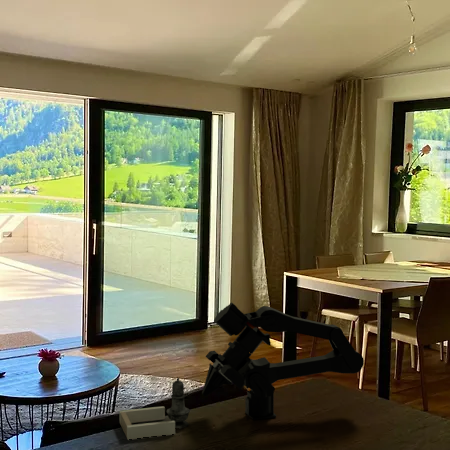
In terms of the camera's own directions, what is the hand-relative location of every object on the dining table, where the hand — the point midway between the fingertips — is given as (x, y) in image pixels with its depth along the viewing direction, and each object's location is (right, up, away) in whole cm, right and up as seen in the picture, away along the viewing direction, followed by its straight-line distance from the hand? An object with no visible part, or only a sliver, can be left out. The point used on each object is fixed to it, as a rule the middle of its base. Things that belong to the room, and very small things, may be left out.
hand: (203, 394), depth 168 cm
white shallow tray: (-14, -7, -5) cm, 16 cm away
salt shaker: (-6, -7, -3) cm, 10 cm away
